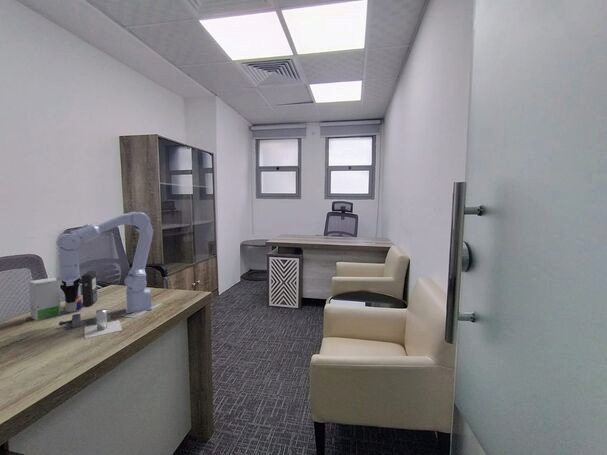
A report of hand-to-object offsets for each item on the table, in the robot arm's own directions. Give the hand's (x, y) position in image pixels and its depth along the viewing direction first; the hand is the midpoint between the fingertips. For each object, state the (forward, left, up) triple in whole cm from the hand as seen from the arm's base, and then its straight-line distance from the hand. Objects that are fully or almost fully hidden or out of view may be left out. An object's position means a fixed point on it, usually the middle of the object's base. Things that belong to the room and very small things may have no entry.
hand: (71, 299), depth 108 cm
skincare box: (+9, -18, -11) cm, 23 cm away
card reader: (-6, -25, -11) cm, 28 cm away
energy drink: (0, -17, -11) cm, 20 cm away
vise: (-4, +1, -10) cm, 11 cm away
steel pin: (-9, +12, -10) cm, 18 cm away
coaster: (-9, +12, -10) cm, 18 cm away
